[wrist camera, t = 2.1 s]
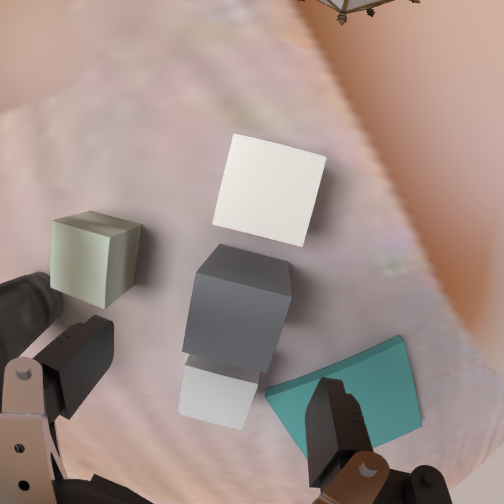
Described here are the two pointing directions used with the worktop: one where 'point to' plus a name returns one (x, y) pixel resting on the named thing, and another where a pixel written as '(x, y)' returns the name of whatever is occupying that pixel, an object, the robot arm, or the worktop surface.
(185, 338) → the charcoal block
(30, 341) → the beverage cup
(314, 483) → the robot arm
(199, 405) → the grey block
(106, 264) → the sage block
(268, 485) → the worktop surface
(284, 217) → the offwhite block
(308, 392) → the teal mat
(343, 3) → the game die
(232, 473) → the worktop surface
